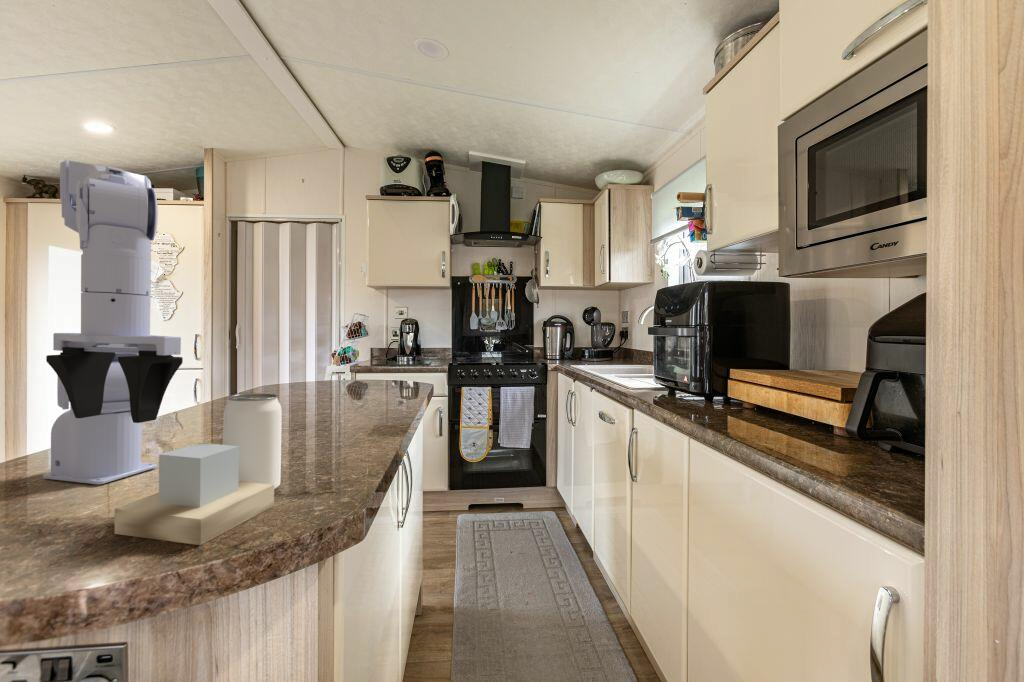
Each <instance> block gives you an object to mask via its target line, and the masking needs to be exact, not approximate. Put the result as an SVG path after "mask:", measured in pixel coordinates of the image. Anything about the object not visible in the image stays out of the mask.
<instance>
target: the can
mask: <svg viewBox="0 0 1024 682" xmlns="http://www.w3.org/2000/svg"><path fill="white" fill-rule="evenodd" d="M227 400H228V401H227V404H226V405H225V406H224V409H223V419H222V421H223V424H222V425H223V426H222V427H223V428H222V445H231V446H239V477H238V481H242V482H252V483H262V484H271V485H274V491H276V490H277V489H278V487H279V486H280V485H281V474H282V473H281V471H282V464H281V463H282V421H283V419H282V415H283V414H282V406H281V403H280V402H279V394H275V393H264V392H263V393H262V392H261V393H259V392H258V393H241V394H233V395H230V396H228V397H227Z"/></svg>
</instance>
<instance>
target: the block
mask: <svg viewBox="0 0 1024 682" xmlns="http://www.w3.org/2000/svg"><path fill="white" fill-rule="evenodd" d="M238 477H239V446H231V445H223V444H219V443H218V444H217V443H209V442H207V443H206V442H199V443H196V444H192V445H188V446H183V447H181V448H177V449H174V450H171V451H167V452H163V453H160V454H158V493H159V503H168V504H176V505H185V506H193V507H202V506H204V505H206V504H209V503H211V502H213V501H215V500H218V499H220V498H222V497H225V496H227V495H229V494H231V493H234V492H236V491H238Z"/></svg>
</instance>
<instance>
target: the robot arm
mask: <svg viewBox="0 0 1024 682" xmlns="http://www.w3.org/2000/svg"><path fill="white" fill-rule="evenodd" d="M59 197H60V199H59V200H60V202H61V217H62V218H63V219H64V221H63V222H64V226H65V227H66V228H69V229H71V230H73V231H74V232H76V233H77V234H78V236H79V237H78V238H79V249H80V250H81V251H82V254H81V257H80V332H79V333H76V332H59V333H58V332H54V333H53V335H52V336H53V338H52V339H53V342H52V343H53V347H52V348H53V351H59V352H60V353H59V354H48V355H45V359H46V363H47V364H48V365H49V366H50V367H51V368H52V370H53V371H54V373H56V375H57V383H56V384H57V386H56V387H57V392H56V393H57V395H56V396H57V406H58V407H60V408H61V410H63V411H64V410H65V411H64V412H63V413H61V414H60V415H59V416H58V417H57V418H56V420H55V421H54V422H53V424H52V427H51V430H50V472H48V473H44V474H42V479H47V480H55V481H56V480H57V481H63V482H72V483H83V484H91V485H103V484H106V483H107V484H108V483H109V482H112V481H116V480H120V479H123V478H127V477H129V476H132V475H137V474H139V473H142V472H147V471H149V470H152V469H155V468H159V463H153V462H146V461H145V462H143V461H142V426H143V425H142V423H145V422H146V423H147V422H152V421H156V420H157V419H158V415H159V411H160V407H161V405H162V402H163V398H164V396H165V393H166V391H167V388H168V387H169V384H170V382H171V380H172V379H173V377H174V375H175V374H176V372H177V371H178V369H179V368H180V367H181V365H183V363H184V362H183V361H184V360H183V359H184V358H183V357H182V356H180V355H181V351H182V349H181V346H182V345H181V344H182V342H181V341H182V339H181V338H182V337H181V336H168V335H167V336H166V335H154V334H153V335H151V294H152V293H151V290H152V289H151V286H152V285H151V283H152V281H151V279H152V277H151V275H152V274H151V273H152V272H151V271H152V269H151V268H152V242H153V241H154V239H155V236H156V233H157V231H158V220H159V219H158V217H159V212H158V211H159V208H158V207H159V206H158V200H157V195H156V191H155V189H154V188H153V187H152V182H151V180H150V179H149V177H148V176H147V175H145V174H139V173H135V172H130V171H126V170H124V169H122V168H118V167H114V166H109V165H108V166H101V165H96V164H91V163H85V162H79V161H74V160H70V159H64V161H61V162H60V164H59ZM151 241H152V242H151ZM175 355H176V356H175ZM69 405H70V406H69ZM69 408H70V409H69Z"/></svg>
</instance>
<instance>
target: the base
mask: <svg viewBox="0 0 1024 682" xmlns="http://www.w3.org/2000/svg"><path fill="white" fill-rule="evenodd" d="M273 507H275V490H274V485H271V484H262V483H252V482H242V481H238V491H236V492H234V493H231V494H229V495H227V496H225V497H222V498H220V499H218V500H215V501H213V502H211V503H209V504H206V505H204V506H202V507H193V506H185V505H176V504H168V503H159V492H158V493H157V492H156V493H154V494H151V495H149V496H146V497H143V498H140V499H138V500H135V501H133V502H129V503H127V504H124V505H122V506H119V507H116V508H114V534H115V535H121V536H128V537H135V538H144V539H150V540H151V539H152V540H158V541H164V542H165V541H166V542H173V543H180V544H181V543H182V544H188V545H195V546H196V545H197V546H202V545H204V544H206V543H208V542H210V541H211V540H213V539H215V538H217V537H219V536H221V535H222V534H225V533H227V532H228V531H230V530H232V529H234V528H236V527H237V526H240V525H241V524H243V523H245V522H246V521H248V520H250V519H253V518H254V517H257V516H258V515H260V514H262V513H264V512H265V511H267V510H269V509H271V508H273Z"/></svg>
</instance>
